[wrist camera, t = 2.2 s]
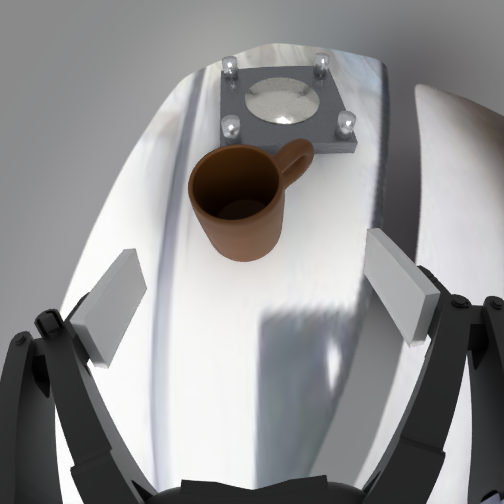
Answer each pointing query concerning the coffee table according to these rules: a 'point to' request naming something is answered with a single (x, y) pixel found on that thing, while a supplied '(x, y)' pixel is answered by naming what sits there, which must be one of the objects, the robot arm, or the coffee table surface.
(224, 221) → the mug
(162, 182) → the coffee table surface
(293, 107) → the chassis
